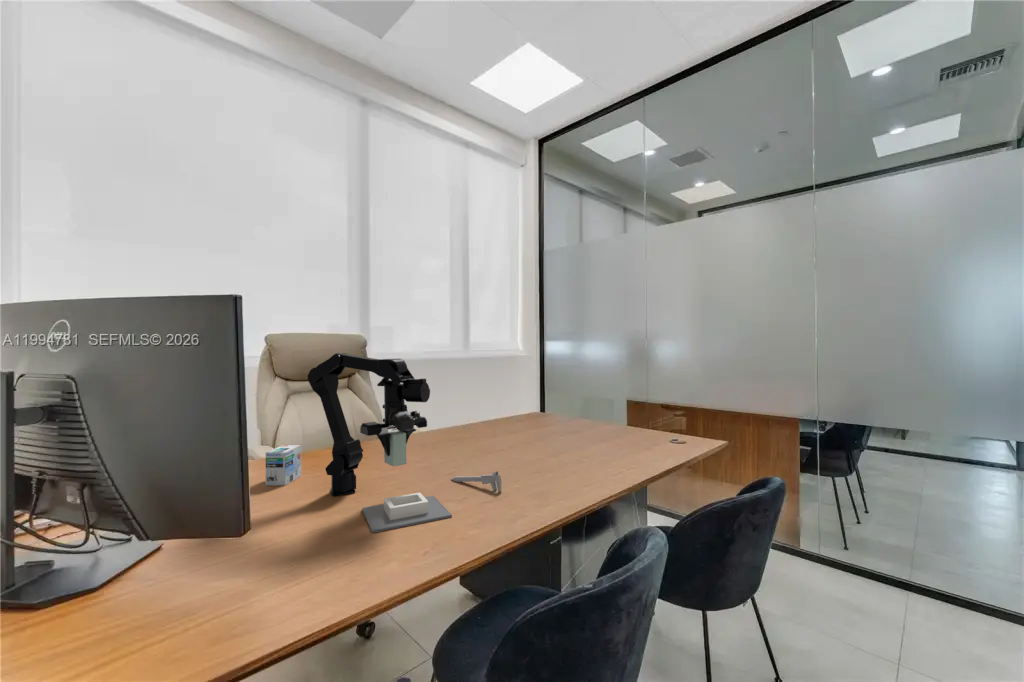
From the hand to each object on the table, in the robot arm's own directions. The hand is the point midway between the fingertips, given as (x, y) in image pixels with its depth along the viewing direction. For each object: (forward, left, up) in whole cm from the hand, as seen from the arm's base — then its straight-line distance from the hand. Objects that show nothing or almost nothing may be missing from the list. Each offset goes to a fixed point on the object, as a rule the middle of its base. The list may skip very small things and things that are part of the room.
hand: (395, 454), depth 128 cm
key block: (0, 0, -3) cm, 2 cm away
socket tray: (0, -13, -13) cm, 18 cm away
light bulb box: (-29, +34, -13) cm, 46 cm away
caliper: (+25, -1, -13) cm, 28 cm away
